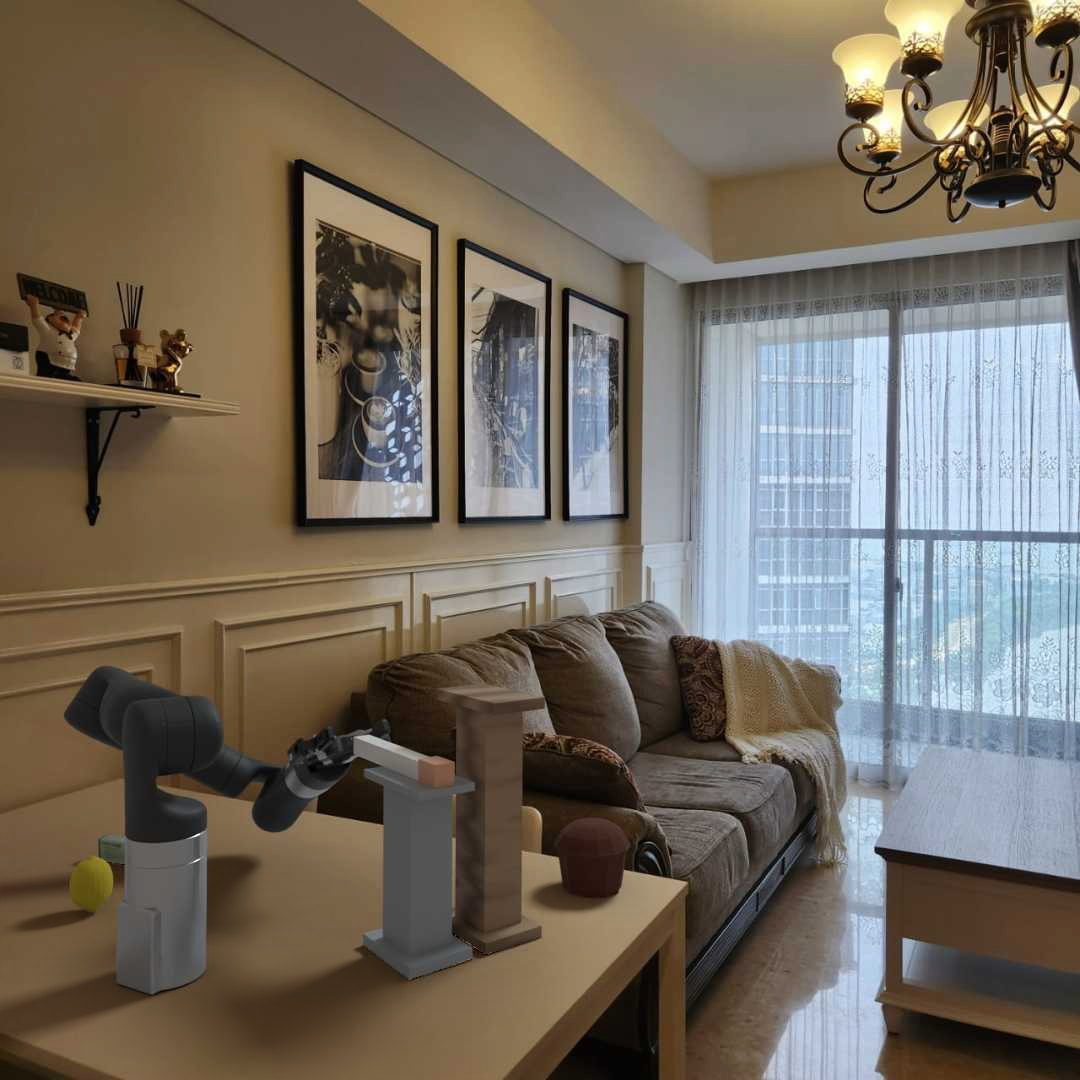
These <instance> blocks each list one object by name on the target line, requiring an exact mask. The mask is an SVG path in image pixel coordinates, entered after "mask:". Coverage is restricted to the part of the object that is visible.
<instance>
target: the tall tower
mask: <svg viewBox="0 0 1080 1080" xmlns="http://www.w3.org/2000/svg"><path fill="white" fill-rule="evenodd" d="M436 700H437V701H441V702H442V703H443V702H444V703H448V704H452V705H455V706H456V714H455V716H456V717H455V718H456V719H455V721H456V724H455V725H456V726H455V727H456V731H455V733H456V739H455V740H456V742H455V743H456V744H455V748H456V749H455V750H456V751H455V755H456V756H455V757H456V758H455V759H456V760H455V770H456V771H455V775H456V776H459V777H462V778H464V779H467V780H469V781H472V782H475V791H470V792H465V793H460V794H455V858H454V859H455V860H454V861H455V868H454V869H455V870H454V871H455V873H454V877H455V878H454V879H455V881H454V883H455V885H454V893H455V894H454V895H455V897H454V898H455V899H454V907H452V935H453V934H454V935H456V936H458V937H459V938H461V939H463V940H464V941H466V942H468V943H470V944H471V945H472V946H474V947H476V948H477V949H479V950H480V951H482V952H483V953H485V954H488V953H490V952H494V953H497V952H496V951H498V952H500V951H503V950H506V949H510V948H512V947H516V946H519V945H522V944H524V943H528V942H531V941H534V940H537V939H541V938H542V935H543V933H542V930H543V927H542V925H541V924H539V923H538V922H536V921H534V920H532V919H530V918H528V917H527V916H525V915H523V914H522V904H523V903H522V898H523V897H522V895H523V894H522V892H523V891H522V890H523V889H522V888H523V886H522V885H523V883H522V880H523V878H522V877H523V876H522V874H523V873H522V872H523V871H522V870H523V869H522V868H523V865H522V864H523V761H524V760H523V751H524V750H523V749H524V748H523V747H524V745H523V743H524V742H523V741H524V740H523V739H524V738H523V735H524V732H523V731H524V727H523V726H524V712H529V711H537V710H544V709H546V697H545V696H542V695H537V694H533V693H529V692H524V691H519V690H514V689H510V688H507V687H506V688H505V687H501V686H497V685H493V684H489V683H478V684H469V685H468V684H467V685H459V686H450V687H441V688H436ZM454 935H453V936H454ZM456 936H455V937H456ZM459 938H458V939H459ZM461 939H460V940H461ZM464 941H463V942H464ZM472 946H471V947H472ZM483 953H482V954H483ZM488 955H489V954H488Z"/></svg>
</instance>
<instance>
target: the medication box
mask: <svg viewBox="0 0 1080 1080" xmlns="http://www.w3.org/2000/svg"><path fill="white" fill-rule="evenodd" d="M97 843H98V844H97V845H98V846H97V847H98V858H101V859H104V860H105V861H106V862H112V863H111V864H114V863H119V864H118V865H120V864H125V835H124V836H123V835H118V834H114V833H113V834H112V833H108V834H106V835H103V836H101V837H100V838H98V839H97Z"/></svg>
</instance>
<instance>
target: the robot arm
mask: <svg viewBox="0 0 1080 1080" xmlns="http://www.w3.org/2000/svg"><path fill="white" fill-rule="evenodd" d="M63 718H64V720H65V721H66V723H68V724H69V726H71V727H72V728H73V729H74V730H76V731H78V732H80V734H81V733H82V735H85V736H87V737H88V738H91V739H93V740H95V741H97V742H99V743H102V744H105V745H107V746H110V747H111V748H114V749H116V750H119V751H121V752H122V759H123V760H122V763H123V778H124V779H123V781H124V782H123V783H124V784H123V785H124V836H125V865H124V882H123V883H124V886H123V887H124V896H123V899H124V900H121V901H119V902H118V903H117V905H116V973H115V974H116V980H115V982H116V984H119V985H121V986H125V987H127V988H131V989H134V990H137V991H139V992H143V993H145V994H148V995H155V994H156V993H158V992H160V991H165V990H171V989H175V988H179V987H181V986H185V985H187V984H190V983H191V982H193V981H196V980H197V979H199V978H200V977H201V976H202V975H203V974H204V973H205V971H206V969H207V910H208V909H207V903H208V901H207V900H208V899H207V897H208V896H207V895H208V893H207V891H208V886H207V885H208V884H207V881H208V879H207V878H208V876H207V875H208V809H207V806H206V805H205V804H204V802H202V801H201V800H198V799H195V798H194V797H189V796H184V795H177V794H174V793H173V794H172V793H170V792H167V791H164V790H163V789H161V788H159V787H158V784H157V778H158V777H165V776H173V775H180V774H181V775H183V776H185V777H187V778H189V779H192V780H194V781H196V782H197V783H199V784H201V785H204V786H205V787H207V788H209V789H211V790H212V791H215V792H216V793H219V794H220V795H222V796H224V797H227V798H229V799H237V798H238V797H239V796H241V795H242V794H243V792H244V791H245V790H246V789H247V787H249V786H250V784H251V783H261V784H263V785H262V788H261V790H260V791H259V793H258V795H257V797H256V799H255V801H254V803H253V805H252V808H251V818H252V820H253V822H254V823H255V825H256V826H257V827H258V828H259V829H260V830H261V831H264V832H267V833H274V834H275V833H276V834H277V833H280V832H284V831H287V830H288V829H290V828H291V827H292V826H293V825H294V824H295V823H296V822H297V820H298V819H299V817H300V816H301V815H302V813H303V812H304V811H305V809H306V807H307V806H308V805H309V804H310V802H312V801H313V800H314V799H316V798H317V797H318V796H320V795H321V794H323V793H325V792H327V791H328V790H329V789H330V788H331V787H333V786H334V785H335V784H336V783H338V782H339V781H340V780H341V779H342V778H344V776H345V775H346V774H347V773H348V771H349V769H350V767H351V763H352V761H354V759H356V758H358V757H359V756H357V755H355V754H353V753H354V737H357V736H364V735H371V736H374V737H377V738H379V739H382V740H385V741H388V742H390V743H392V741H391V738H390V733H391V727H390V723H389V721H388V720H387V719H386V718H383V719H380V720H379V721H378V722H377V723H376V724H374V725H373V726H372V727H371V728H368V729H366V730H362V729H357V730H355V731H352V732H350V733H348V734H341V735H339V736H337V735H334V730H333V726H332V725H331V726H330V725H329V726H325V727H324V728H323V729H322V730H321V731H319V732H318V733H317V734H312V735H311V736H309V737H310V739H307V740H306V738H305V737H300V738H298V739H296V740H295V741H294V742H293V744H292V745H291V746H290V747H289V748H288V750H287V751H286V753H287V760H288V762H287V763H286V764H285V765H282V764H277V763H273V762H269V761H265V760H261V759H256V758H255V757H254V758H253V757H250V756H248V755H246V754H244V753H242V752H240V751H239V750H237V749H235V748H233V747H231V746H229V745H227V744H225V743H224V737H225V736H224V733H225V732H224V731H225V730H224V725H223V721H222V718H221V715H220V713H219V711H218V709H217V707H216V706H215V704H214V703H213V701H211V700H210V699H209V698H208V697H206V696H202V695H182V694H179V693H177V692H174V691H172V690H169V689H167V688H163V686H160V685H157V684H155V683H153V682H150V681H147V680H141V679H140V678H138V677H137V676H135V675H133V674H132V673H130V672H128V671H126V670H124V669H122V668H120V667H116V666H112V665H100V666H99V667H97V668H95V669H94V670H93V671H92V672H91V673H90V674H89V675H88V677H87V678H86V680H85V681H84V682H83V684H82V685H81V687H80V688H79V690H78V691H77V692H76V694H75V695H74V697H73V698H72V699H71V701H70V703H69V704H68V705H67V707H66V709H65V711H64V713H63Z"/></svg>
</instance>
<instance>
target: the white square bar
mask: <svg viewBox="0 0 1080 1080" xmlns="http://www.w3.org/2000/svg"><path fill="white" fill-rule="evenodd" d="M353 754H355V755H357V756H358V757H359V758H362V759H364V760H367V761H368V762H372V763H374V764H377V765H379V766H380V767H382V766H384V767H386V768H389V769H391V770H393V771H396V772H398V773H401V774H403V775H406V776H408V777H411V778H413V779H415V780H418V782H421V783H423V784H426V785H428V786H430V787H433V788H440V787H445V786H451V785H455V775H456V771H455V770H456V761H453V760H450V759H448V758H444V757H441V756H439V755H434V756H433V755H432V756H428V755H425V754H423V753H420V752H417V751H414V750H412V749H409V748H407V747H404V746H401V745H398V744H395V743H392V742H391V743H390V742H388V741H385V740H382V739H379V738H377V737H374V736H371V734H370V735H364V736H357V737H354V753H353Z"/></svg>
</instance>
